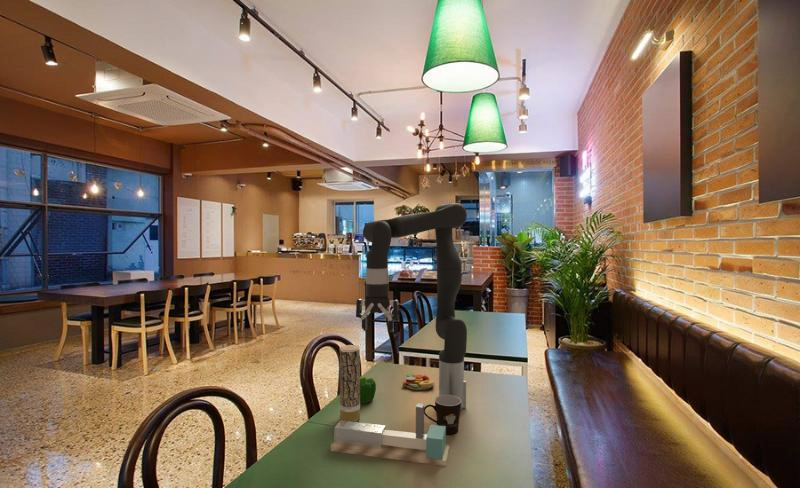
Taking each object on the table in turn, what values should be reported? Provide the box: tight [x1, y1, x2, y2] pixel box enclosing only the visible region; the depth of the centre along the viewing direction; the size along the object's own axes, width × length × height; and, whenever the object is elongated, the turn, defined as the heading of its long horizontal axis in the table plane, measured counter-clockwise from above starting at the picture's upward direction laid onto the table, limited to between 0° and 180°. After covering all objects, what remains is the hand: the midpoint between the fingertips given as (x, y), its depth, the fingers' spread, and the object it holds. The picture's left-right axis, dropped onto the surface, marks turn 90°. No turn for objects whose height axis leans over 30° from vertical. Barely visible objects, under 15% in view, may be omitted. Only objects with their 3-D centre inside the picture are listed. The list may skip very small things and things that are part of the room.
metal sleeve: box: [333, 419, 386, 449], centre depth 118 cm, size 14×5×5 cm, turn 77°
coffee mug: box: [424, 395, 462, 437], centre depth 128 cm, size 12×9×10 cm
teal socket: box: [426, 424, 447, 460], centre depth 112 cm, size 4×8×6 cm, turn 166°
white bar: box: [382, 403, 428, 450], centre depth 114 cm, size 19×3×12 cm, turn 77°
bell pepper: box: [360, 375, 377, 404], centre depth 151 cm, size 8×8×10 cm
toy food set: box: [402, 373, 435, 391], centre depth 167 cm, size 13×13×3 cm
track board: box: [330, 441, 450, 467], centre depth 116 cm, size 34×8×2 cm, turn 77°
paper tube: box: [339, 344, 361, 422], centre depth 135 cm, size 7×7×25 cm
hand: (377, 330), depth 129 cm, fingers open, 8 cm apart
